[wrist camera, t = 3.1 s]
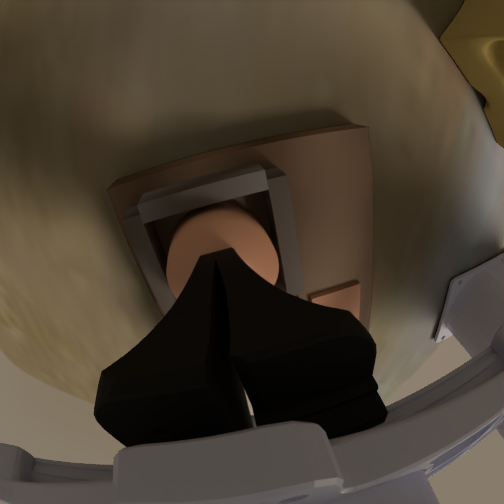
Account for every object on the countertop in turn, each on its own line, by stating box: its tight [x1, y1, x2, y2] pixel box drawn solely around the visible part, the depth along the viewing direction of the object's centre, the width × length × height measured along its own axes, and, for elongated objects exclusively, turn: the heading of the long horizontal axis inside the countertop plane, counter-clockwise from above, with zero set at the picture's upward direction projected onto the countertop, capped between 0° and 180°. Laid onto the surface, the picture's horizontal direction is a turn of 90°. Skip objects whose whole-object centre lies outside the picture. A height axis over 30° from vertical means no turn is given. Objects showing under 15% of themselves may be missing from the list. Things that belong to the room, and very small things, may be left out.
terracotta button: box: [166, 203, 279, 299], centre depth 12 cm, size 4×4×2 cm
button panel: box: [107, 124, 374, 332], centre depth 17 cm, size 12×22×3 cm, turn 12°
